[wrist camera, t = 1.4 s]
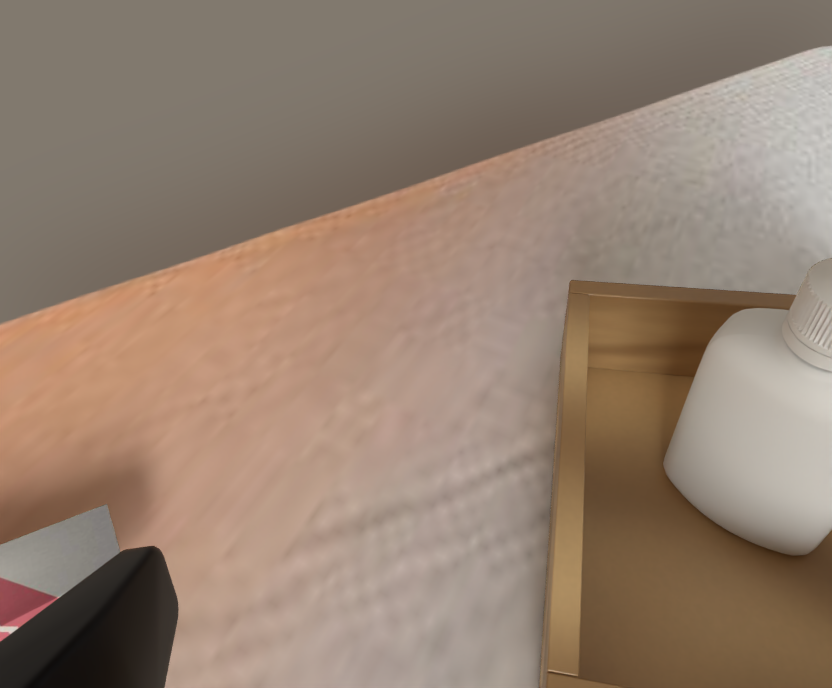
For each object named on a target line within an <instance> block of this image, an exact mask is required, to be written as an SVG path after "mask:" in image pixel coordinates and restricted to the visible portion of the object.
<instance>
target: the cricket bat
mask: <svg viewBox="0 0 832 688" xmlns="http://www.w3.org/2000/svg"><path fill="white" fill-rule="evenodd" d="M118 553H120V549H119V545H118V542H117V538H116V535H115V531H114V528H113V524H112V521H111V517H110V513H109V510H108V506H107V504H105V505H103V506H100V507H98V508H95V509H92V510H90V511H87V512H85V513H82V514H79V515H77V516H74V517H72V518H69V519H66V520H64V521H61V522H58V523H56V524H53V525H51V526H48V527H45V528H43V529H40V530H38V531H35V532H32V533H30V534H27V535H25V536H22V537H19V538H17V539H14V540H12V541H9V542H6V543H4V544H1V545H0V641H2V640H3V639H4V638H6V637H7V636H8V635H10V634H11V633H12V632H14V631H15V630H16V629H18V628H19V627H21V626H22V625H23V624H25V623H26V622H27V621H29V620H30V619H31V618H33V617H34V616H35V615H37V614H38V613H39V612H41V611H42V610H43V609H45V608H46V607H47V606H49V605H50V604H51V603H53V602H54V601H55V600H57V599H58V598H59V597H61V596H62V595H63V594H65V593H66V592H67V591H69V590H70V589H71V588H73V587H74V586H75V585H77V584H78V583H79V582H81V581H82V580H83V579H85V578H86V577H87V576H89V575H90V574H92V573H93V572H94V571H96V570H97V569H98V568H100V567H101V566H102V565H104V564H105V563H106V562H108V561H109V560H110V559H112V558H113V557H114V556H116V555H117V554H118Z"/></svg>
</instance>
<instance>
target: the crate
mask: <svg viewBox="0 0 832 688" xmlns="http://www.w3.org/2000/svg"><path fill="white" fill-rule="evenodd" d="M795 297H796V295H790V294H774V293H759V292H744V291H729V290H714V289H699V288H684V287H668V286H653V285H638V284H623V283H608V282H593V281H578V280H571V281H570V283H569V291H568V300H567V308H566V316H565V324H564V333H563V341H562V349H561V357H560V373H559V388H558V403H557V419H556V434H555V450H554V465H553V480H552V496H551V511H550V526H549V542H548V557H547V573H546V588H545V603H544V619H543V634H542V650H541V665H540V680H539V688H832V530H831V532H830V533H829V534H828V535H827V536H826V537H825V538H824V540H823V541H822V542H821V543H820V544H819V545H818V546H817V547H816V548H815V549H814V550H813V551H812V552H810V553H809V554H807V555H797V556H792V555H788V554H783V553H780V552H777V551H773V550H770V549H767V548H765V547H762V546H759V545H757V544H754V543H752V542H749V541H747V540H745V539H743V538H741V537H739V536H737V535H735V534H733V533H731V532H729V531H728V530H726V529H724V528H723V527H721V526H719V525H718V524H716V523H715V522H713V521H712V520H711V519H709V518H708V517H707V516H705V515H704V514H703V513H701V512H700V511H699V510H698V509H697V508H696V507H694V506H693V505H692V504H691V503H690V502H689V501H688V500H687V499H686V498H685V497H684V496H683V495H682V494H681V493H680V492H679V490H678V489H677V488H676V487H675V486H674V485H673V483H672V482H671V481H670V479H669V478H668V476H667V475H666V472H665V469H664V466H663V462H664V458H665V455H666V452H667V449H668V446H669V444H670V441H671V438H672V436H673V433H674V430H675V428H676V425H677V422H678V420H679V417H680V414H681V412H682V409H683V406H684V404H685V401H686V398H687V396H688V393H689V390H690V388H691V385H692V383H693V380H694V377H695V375H696V372H697V369H698V367H699V364H700V362H701V360H702V357H703V355H704V352H705V350H706V347H707V345H708V344H709V342H710V340H711V339H712V337H713V336H714V334H715V333H716V332H717V331H718V330H719V328H720V327H721V326H722V325H723V324H724V323H725V322H726V321H727V320H728V319H729V318H730V317H731V316H732V315H733V314H735V313H737V312H739V311H741V310H744V309H752V308H770V309H783V310H790V308H791V306H792V303H793V301H794V299H795Z"/></svg>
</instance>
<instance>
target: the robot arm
mask: <svg viewBox="0 0 832 688" xmlns="http://www.w3.org/2000/svg"><path fill="white" fill-rule="evenodd" d="M177 620H178V600H177V596H176V593H175V589H174V586H173V583H172V580H171V577H170V574H169V571H168V568H167V565H166V562H165V559H164V556H163V554H162V552H161V551H160V549H159V548H157V547H155V546H148V547H141V548H133V549H126V550H123V551H121V552H120V553H118V554H117V555H116V556H114V557H113V558H112V559H110V560H109V561H108V562H106V563H105V564H104V565H102V566H101V567H100V568H98V569H97V570H96V571H94V572H93V573H92V574H90V575H89V576H87V577H86V578H85V579H83V580H82V581H81V582H79V583H78V584H77V585H75V586H74V587H73V588H71V589H70V590H69V591H67V592H66V593H65V594H63V595H62V596H61V597H59V598H58V599H57V600H55V601H54V602H53V603H51V604H50V605H49V606H47V607H46V608H45V609H43V610H42V611H41V612H39V613H38V614H37V615H35V616H34V617H33V618H31V619H30V620H29V621H27V622H26V623H25V624H23V625H22V626H21V627H19V628H18V629H16V630H15V631H14V632H12V633H11V634H10V635H8V636H7V637H6V638H4V639H3V640H2V641H0V688H164V687H165V681H166V676H167V671H168V666H169V661H170V656H171V651H172V646H173V641H174V635H175V630H176V625H177Z"/></svg>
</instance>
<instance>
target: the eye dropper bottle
mask: <svg viewBox="0 0 832 688" xmlns="http://www.w3.org/2000/svg"><path fill="white" fill-rule="evenodd" d="M663 466H664V469H665V472H666V475H667V476H668V478H669V479H670V481H671V482H672V483H673V485H674V486H675V487H676V488H677V489H678V490H679V492H680V493H681V494H682V495H683V496H684V497H685V498H686V499H687V500H688V501H689V502H690V503H691V504H692V505H693V506H694V507H696V508H697V509H698V510H699V511H700V512H701V513H703V514H704V515H705V516H707V517H708V518H709V519H711V520H712V521H713V522H715V523H716V524H718V525H719V526H721V527H723V528H724V529H726V530H728V531H729V532H731V533H733V534H735V535H737V536H739V537H741V538H743V539H745V540H747V541H749V542H752V543H754V544H757V545H759V546H762V547H765V548H767V549H770V550H773V551H777V552H780V553H783V554H788V555H792V556H797V555H807V554H809V553H810V552H812V551H813V550H814V549H815V548H816V547H817V546H818V545H819V544H820V543H821V542H822V541H823V540H824V538H825V537H826V536H827V535H828V534H829V533H830V532H831V530H832V258H829V259H825V260H822V261H821V262H818V263H817V264H814V266H812V267H811V269H809V271H808V273H807V275H806V277H805V279H804V281H803V283H802V285H801V287H800V289H799V291H798V293H797V295H796V297H795V299H794V301H793V303H792V306H791V308H790V310H783V309H770V308H752V309H744V310H741V311H739V312H737V313H735V314H733V315H732V316H731V317H730V318H729V319H728V320H727V321H726V322H725V323H724V324H723V325H722V326H721V327H720V328H719V330H718V331H717V332H716V333H715V334H714V336H713V337H712V339H711V340H710V342H709V344H708V345H707V347H706V350H705V352H704V355H703V357H702V360H701V362H700V364H699V367H698V369H697V372H696V375H695V377H694V380H693V383H692V385H691V388H690V390H689V393H688V396H687V398H686V401H685V404H684V406H683V409H682V412H681V414H680V417H679V420H678V422H677V425H676V428H675V430H674V433H673V436H672V438H671V441H670V444H669V446H668V449H667V452H666V455H665V458H664V462H663Z"/></svg>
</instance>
